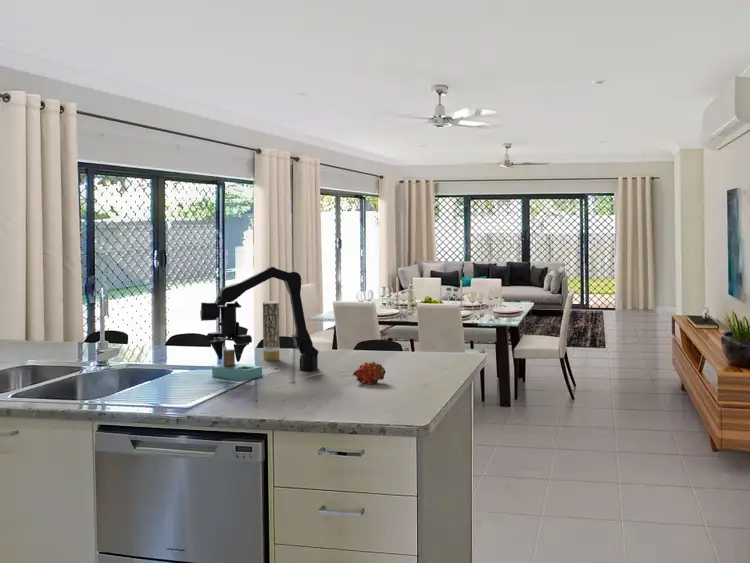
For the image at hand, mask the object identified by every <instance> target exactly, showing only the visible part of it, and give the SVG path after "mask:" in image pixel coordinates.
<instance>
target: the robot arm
mask: <svg viewBox="0 0 750 563" xmlns="http://www.w3.org/2000/svg"><path fill="white" fill-rule="evenodd" d="M273 278H275V279H277V280H280V281H283V283H284V286H285V289H286V290H287V292H288V294H289V299H290V300H289V301H290V304H291V309H292V316H293V322H294V327H295V333H294V334H291V337H292V340H293V342H292V343H293V344H292V345H293V346H295V348H296V349H297V351H299V353H300V355H299V369H297V371H300V372H307V373H308V372H309V373H312V372H315V371H320V370H321V369H320V368H318V367H319V366H318V365H319V363H318V362H319V358H318V355H319V350H317V349H316V347H315V346H314V343H313V341H312V339H311V335H310V333H309V331H308V329H307V326H306V325H307V324H306V320H305V312H304V307H303V303H302V302H303V301H302V297H301V292H302V291H301V290H302V277H301V274H300V273H298V272H296V271H293V270H290V271H289V270H288V271H285V270H281V269H279V268H276V267H275V266H268V267H267V268H265V269H264V270H261V271H260V272H257V273H255V274H254V275H252V276H250V277H248V278H246V279H244V280H242V281H240V282H237V283H231V284H229V285H226V286H223V287H222V288H221V289H220V291H219V296H218V297H217V298H216V300H215V301H214V302H201V303H200V313H199V314H200V315H199V316H200V317H199V318H200V322H201V321H202V322H203V321H205V322H206V321H208V322H209V321H217V320H218V318H220V322H218V326H220V331H219V332H218V331H215V332H208V333H207V335H206V341H207V342H208V344H210V345H211V347H212V349H213V351H214V352H215V355H216V356H217V358H218V360H223V345H224V343H225V342H226V341H230V342H231V341H232V342H233V343H234V344H233V350H234V351H235V361H236V362H238V363H239V362H240V361H241V358H242V355H243V353H244V349H245V348H246V347H247V346H249V345H250V343H253V338H252V335H251V334H248V330H249V328H246V327H244V326H240V323H239V321H237V308H239V309H240V308H242V305H241V304H240V303H239V302H238V301H237V299H238V298H240V297H241V296H242V295H243V294H244V293H245V292H246V291H248V290H251V289H252V288H254V287H256V286H258V285H260V284H262V283H264V282H266V281H269V280H271V279H273Z"/></svg>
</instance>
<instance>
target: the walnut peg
mask: <svg viewBox="0 0 750 563" xmlns="http://www.w3.org/2000/svg"><path fill="white" fill-rule="evenodd" d="M235 363H236V356H235V351H234V348H231V349H224V350H223V364H224V367H234V366H235Z"/></svg>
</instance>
